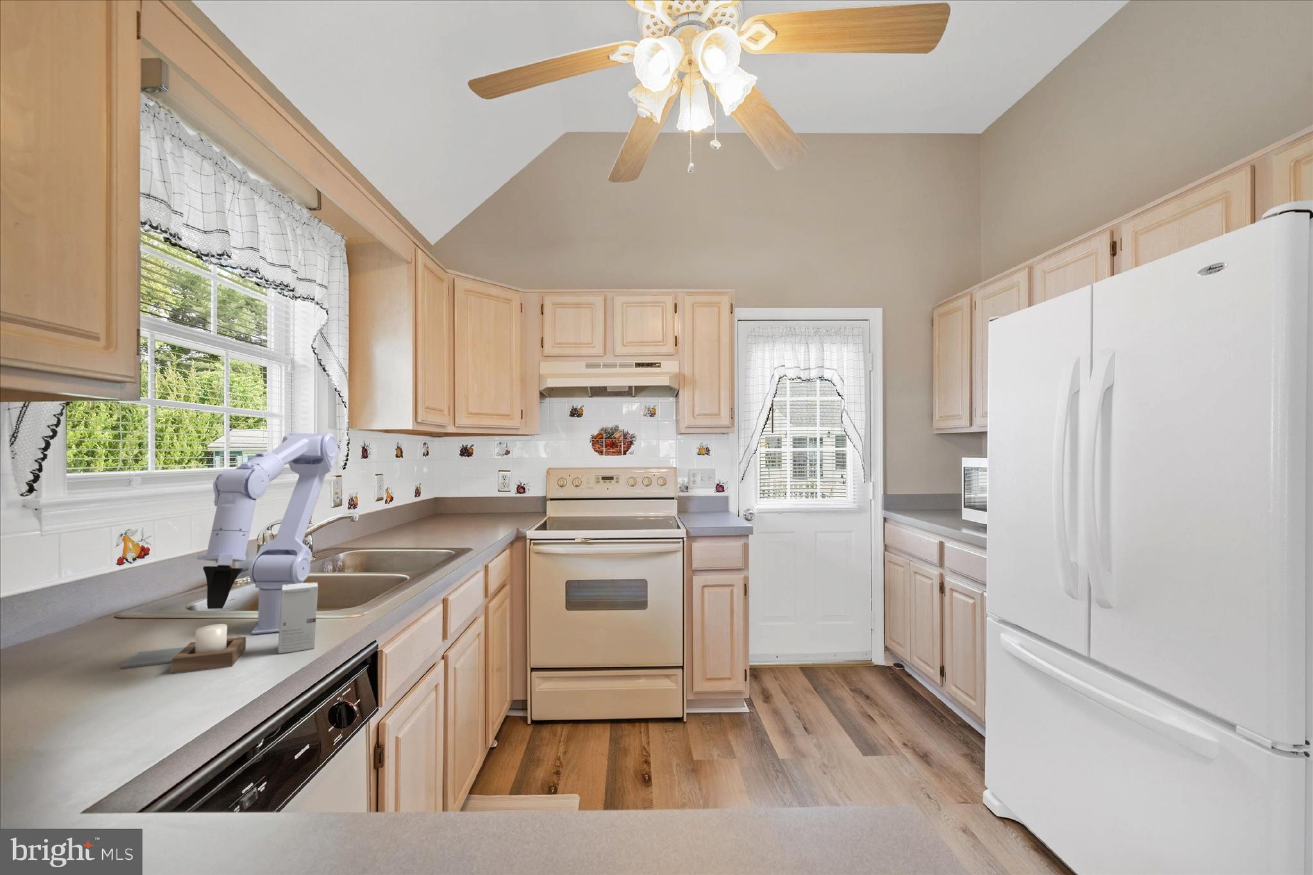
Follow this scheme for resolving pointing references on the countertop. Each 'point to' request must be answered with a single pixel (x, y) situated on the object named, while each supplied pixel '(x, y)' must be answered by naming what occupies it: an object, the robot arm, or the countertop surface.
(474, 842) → the countertop surface
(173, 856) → the countertop surface
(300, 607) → the skincare box
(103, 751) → the countertop surface
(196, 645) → the cream rounded capsule
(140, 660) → the slate mat
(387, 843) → the countertop surface
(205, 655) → the walnut holder
